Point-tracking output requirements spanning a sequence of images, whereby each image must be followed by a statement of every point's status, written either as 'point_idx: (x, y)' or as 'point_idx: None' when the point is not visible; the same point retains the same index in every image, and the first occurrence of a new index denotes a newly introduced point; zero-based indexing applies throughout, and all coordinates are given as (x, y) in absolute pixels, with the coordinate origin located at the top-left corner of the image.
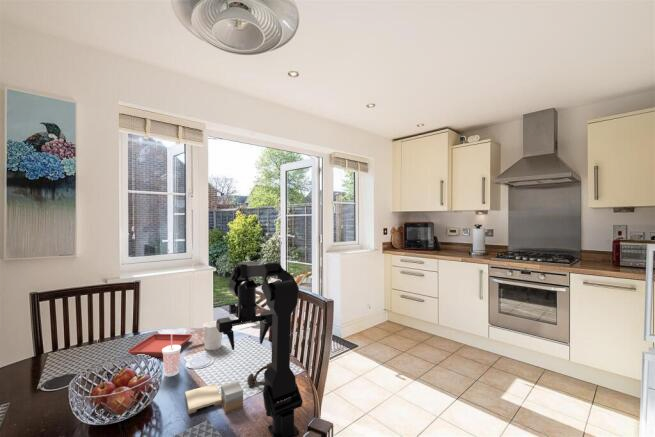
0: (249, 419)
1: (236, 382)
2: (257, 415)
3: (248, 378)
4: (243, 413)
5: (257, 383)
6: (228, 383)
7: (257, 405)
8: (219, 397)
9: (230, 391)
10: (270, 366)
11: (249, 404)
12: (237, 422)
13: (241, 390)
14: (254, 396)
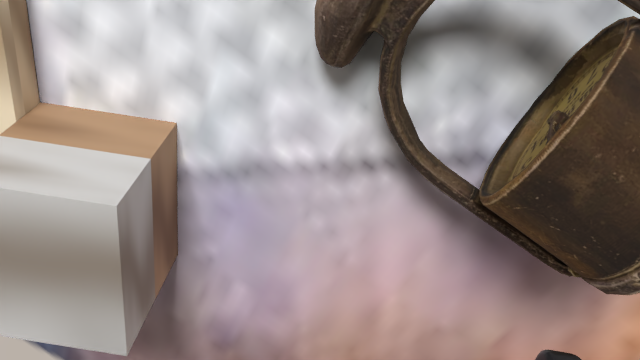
0: (183, 352)
1: (96, 230)
2: (236, 353)
3: (328, 4)
4: (166, 293)
5: (383, 107)
6: (18, 195)
7: (275, 284)
8: (2, 110)
9: (23, 313)
10: (557, 213)
11: (231, 244)
12: None
13: (113, 353)
14: (301, 187)
